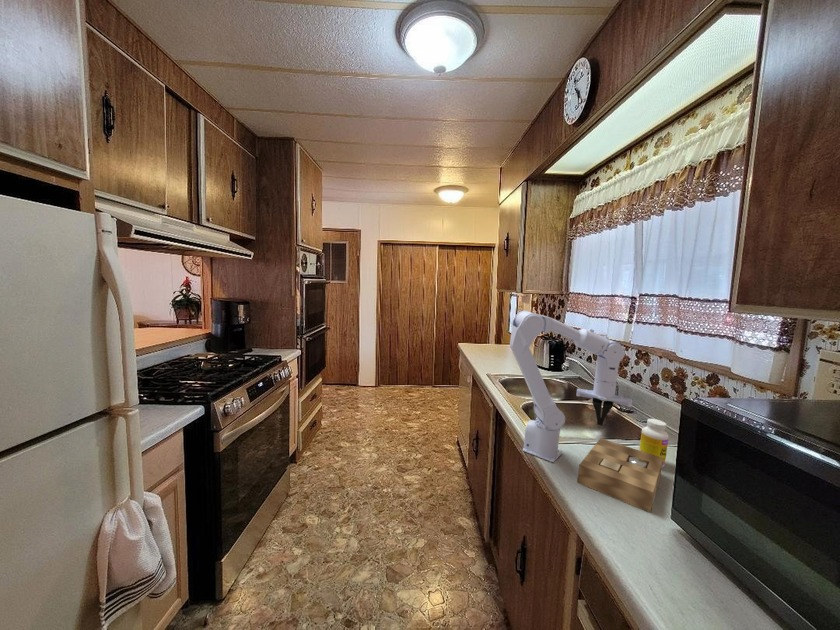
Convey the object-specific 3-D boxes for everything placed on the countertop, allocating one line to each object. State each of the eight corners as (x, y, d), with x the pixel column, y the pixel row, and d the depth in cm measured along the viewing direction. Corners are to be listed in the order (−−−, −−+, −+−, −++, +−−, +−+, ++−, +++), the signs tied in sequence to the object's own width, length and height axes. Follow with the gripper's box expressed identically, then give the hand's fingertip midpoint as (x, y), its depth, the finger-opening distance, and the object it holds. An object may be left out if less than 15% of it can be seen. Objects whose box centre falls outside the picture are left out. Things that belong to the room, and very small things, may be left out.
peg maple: (597, 481, 89) (600, 464, 89) (601, 475, 92) (603, 458, 92) (615, 488, 87) (617, 470, 86) (618, 481, 90) (620, 464, 89)
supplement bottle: (660, 471, 97) (667, 428, 96) (634, 461, 102) (640, 420, 101) (667, 464, 102) (673, 423, 100) (641, 454, 106) (647, 415, 105)
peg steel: (625, 477, 92) (627, 460, 92) (628, 471, 95) (630, 455, 95) (642, 483, 90) (645, 466, 89) (645, 477, 93) (647, 461, 92)
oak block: (577, 482, 89) (579, 464, 88) (598, 453, 106) (600, 438, 105) (650, 512, 79) (653, 492, 78) (660, 474, 95) (663, 458, 95)
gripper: (577, 378, 101) (572, 421, 102) (634, 388, 94) (628, 435, 95) (579, 373, 107) (575, 414, 108) (633, 382, 100) (627, 427, 101)
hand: (600, 424), depth 102 cm, fingers closed
